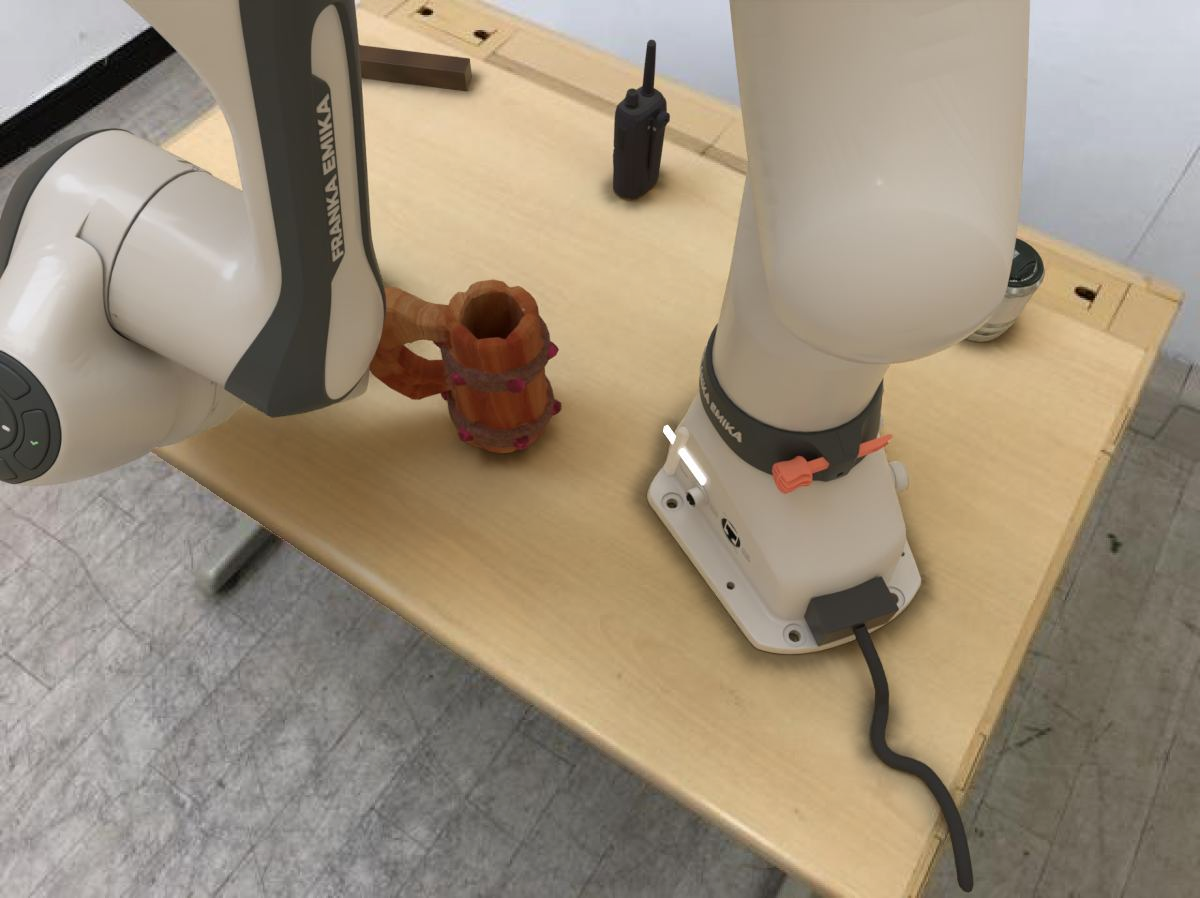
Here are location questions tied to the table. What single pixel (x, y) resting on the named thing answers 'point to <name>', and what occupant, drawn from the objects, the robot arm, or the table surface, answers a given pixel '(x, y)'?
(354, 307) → the robot arm
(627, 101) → the two-way radio
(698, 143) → the table surface
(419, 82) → the rail
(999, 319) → the camera lens
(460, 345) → the mug
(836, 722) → the table surface
